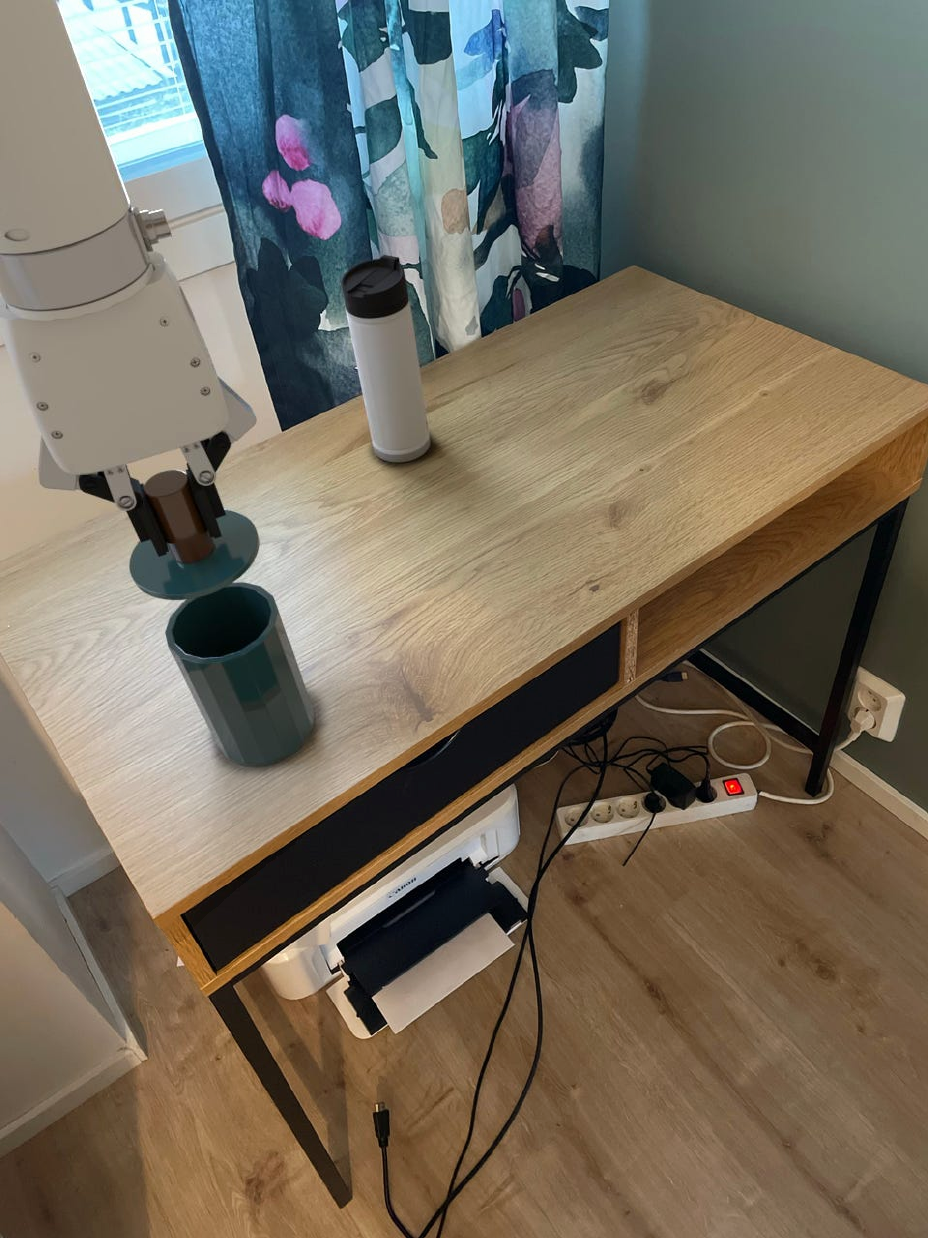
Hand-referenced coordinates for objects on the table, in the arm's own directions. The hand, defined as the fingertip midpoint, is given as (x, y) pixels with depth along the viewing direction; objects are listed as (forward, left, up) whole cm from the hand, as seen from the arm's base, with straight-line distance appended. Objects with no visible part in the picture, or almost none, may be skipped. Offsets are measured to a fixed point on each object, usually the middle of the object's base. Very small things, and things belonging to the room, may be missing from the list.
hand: (186, 532), depth 58 cm
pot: (0, 0, -21) cm, 21 cm away
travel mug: (+23, +31, -21) cm, 44 cm away
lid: (0, 0, -2) cm, 2 cm away
